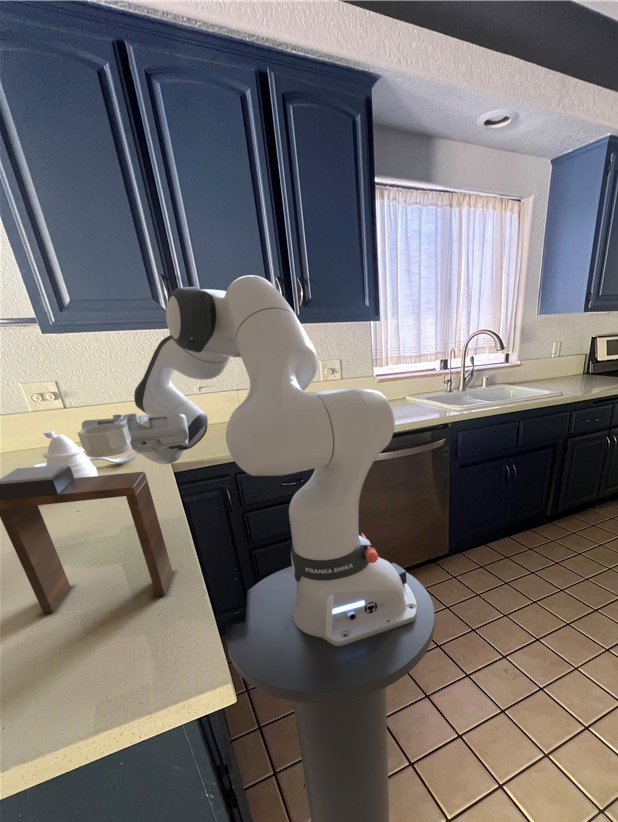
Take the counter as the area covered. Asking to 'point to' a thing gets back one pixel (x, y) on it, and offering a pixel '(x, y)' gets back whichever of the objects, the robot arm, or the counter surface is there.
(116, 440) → the scoop bowl
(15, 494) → the kitchen scale
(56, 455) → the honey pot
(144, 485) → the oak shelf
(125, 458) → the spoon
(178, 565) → the counter surface
